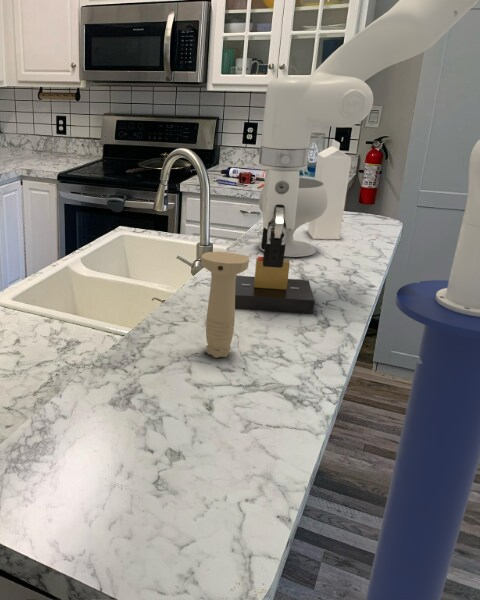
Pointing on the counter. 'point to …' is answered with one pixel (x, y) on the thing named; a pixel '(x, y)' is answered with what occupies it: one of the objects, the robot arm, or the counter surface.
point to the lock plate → (274, 296)
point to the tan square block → (271, 275)
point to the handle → (222, 299)
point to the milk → (331, 191)
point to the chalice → (304, 214)
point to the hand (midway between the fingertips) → (271, 257)
